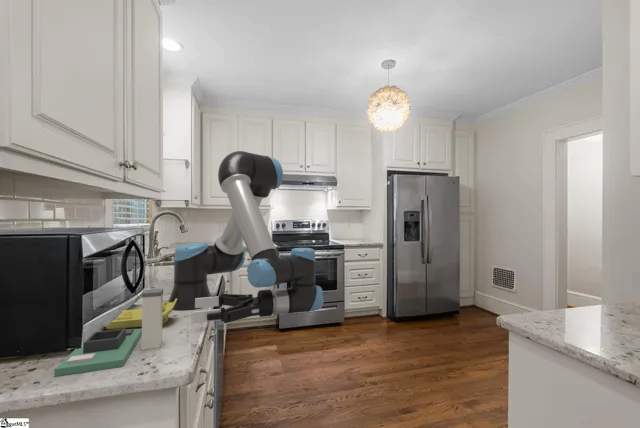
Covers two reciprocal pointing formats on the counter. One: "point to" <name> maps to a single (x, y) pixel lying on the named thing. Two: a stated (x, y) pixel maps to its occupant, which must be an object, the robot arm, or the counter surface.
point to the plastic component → (138, 317)
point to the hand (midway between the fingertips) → (193, 309)
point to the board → (101, 352)
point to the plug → (152, 318)
